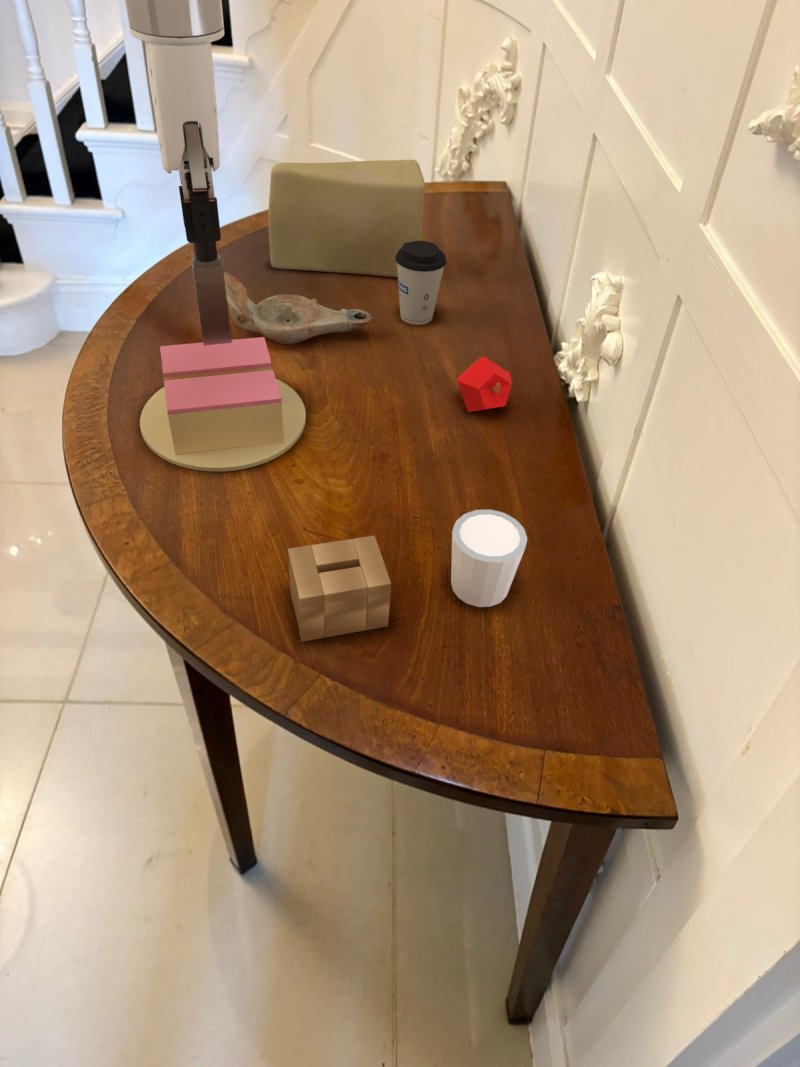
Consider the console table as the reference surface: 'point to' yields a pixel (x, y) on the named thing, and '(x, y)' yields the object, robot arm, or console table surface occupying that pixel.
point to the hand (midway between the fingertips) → (202, 232)
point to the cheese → (344, 215)
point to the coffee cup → (419, 280)
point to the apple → (484, 385)
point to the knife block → (339, 587)
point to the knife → (211, 293)
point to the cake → (221, 407)
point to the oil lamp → (289, 315)
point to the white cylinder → (485, 556)
